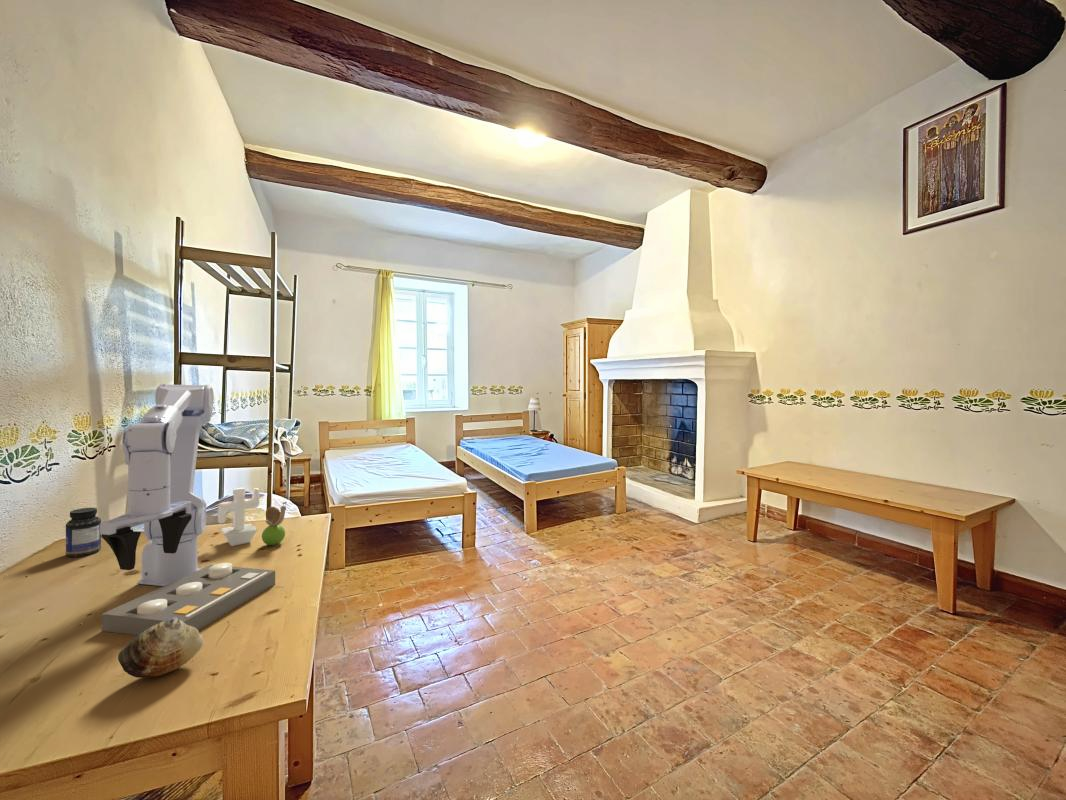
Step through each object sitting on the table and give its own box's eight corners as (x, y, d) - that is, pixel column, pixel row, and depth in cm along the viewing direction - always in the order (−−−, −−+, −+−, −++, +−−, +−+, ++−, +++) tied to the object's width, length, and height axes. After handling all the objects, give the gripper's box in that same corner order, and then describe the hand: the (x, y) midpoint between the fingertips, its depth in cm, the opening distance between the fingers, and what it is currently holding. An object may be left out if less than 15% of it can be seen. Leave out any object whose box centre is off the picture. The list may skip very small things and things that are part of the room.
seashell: (202, 651, 68) (202, 602, 68) (203, 670, 63) (203, 618, 63) (120, 676, 62) (120, 623, 62) (115, 699, 57) (115, 641, 57)
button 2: (203, 584, 88) (203, 569, 88) (220, 575, 92) (220, 562, 92) (220, 585, 87) (220, 571, 87) (236, 577, 91) (236, 563, 91)
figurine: (215, 542, 115) (215, 488, 115) (256, 534, 122) (256, 483, 121) (220, 550, 110) (220, 493, 109) (262, 541, 116) (262, 487, 116)
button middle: (170, 605, 81) (170, 590, 81) (190, 595, 85) (190, 581, 85) (188, 607, 80) (188, 592, 80) (207, 597, 84) (207, 582, 84)
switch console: (101, 630, 73) (101, 612, 73) (210, 578, 94) (210, 563, 94) (182, 640, 71) (182, 621, 71) (275, 584, 91) (275, 569, 91)
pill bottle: (69, 551, 107) (69, 508, 106) (103, 546, 110) (103, 505, 110) (62, 559, 102) (62, 514, 102) (97, 554, 105) (97, 511, 105)
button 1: (130, 625, 74) (130, 608, 74) (154, 613, 78) (154, 597, 78) (150, 627, 73) (150, 610, 73) (173, 615, 77) (173, 599, 77)
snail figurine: (277, 549, 111) (277, 504, 111) (256, 547, 112) (256, 502, 112) (292, 542, 116) (293, 499, 116) (273, 540, 117) (273, 497, 117)
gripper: (125, 498, 70) (125, 579, 70) (204, 480, 84) (204, 547, 84) (89, 496, 71) (89, 576, 71) (174, 478, 85) (174, 545, 85)
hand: (149, 560), depth 78 cm, fingers open, 7 cm apart
